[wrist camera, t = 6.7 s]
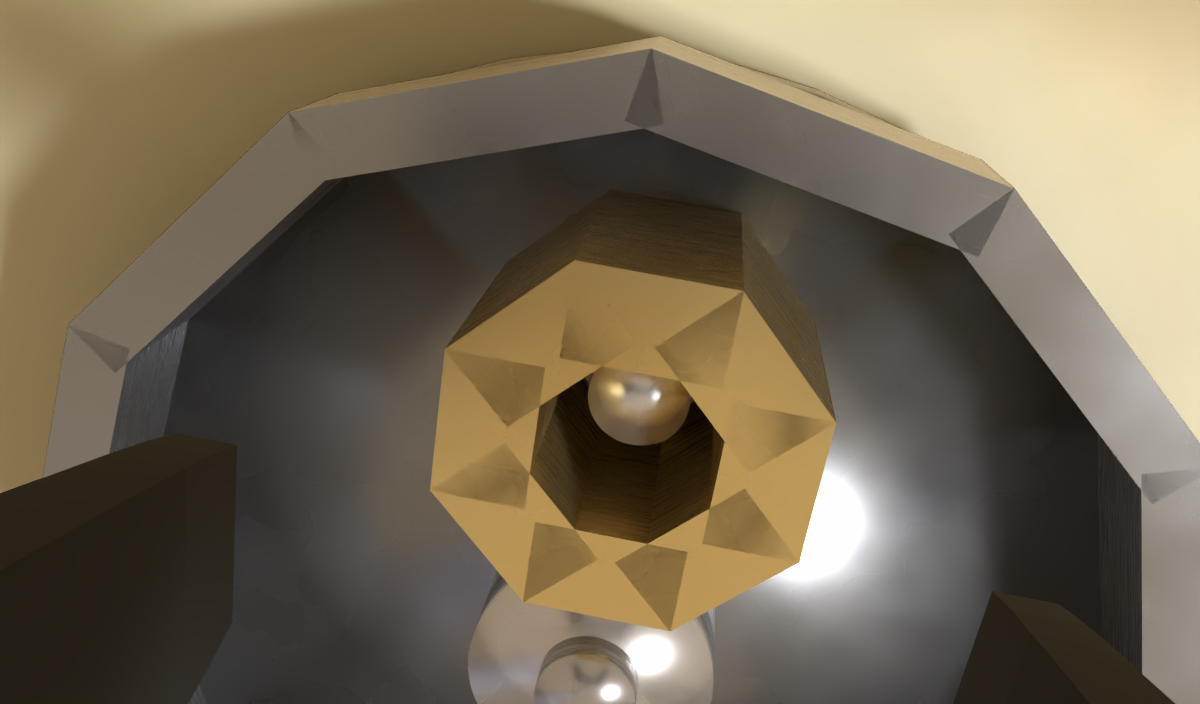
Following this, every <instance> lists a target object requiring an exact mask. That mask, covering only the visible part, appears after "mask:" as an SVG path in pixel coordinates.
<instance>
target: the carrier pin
mask: <svg viewBox="0 0 1200 704" xmlns="http://www.w3.org/2000/svg"><path fill="white" fill-rule="evenodd" d="M690 397H691V395H690V394H689V393H688V391H687V390H686V388H685V387H684V386H683V384H682V383H681V382H680V381H678V380H673V379H668V378H662V377H657V376H652V375H646V374H641V373H636V372H630V371H625V370H620V369H614V368H609V367H604V366H602V367H600V368H598V369H597V370H595V371H594V373H593V376H592V379H591V382H590V385H589V390H588V403H589V408H590V412H591V414H592V416H593V418H594V420H595V422H596V423H597V424H598V426H599V427H600V428H601V429H602V430H603V431H604V432H605V433H607V434H608V435H609V436H611V437H612V438H614V439H616V440H618V441H620V442H623V443H626V444H631V445H651V444H655V443H658V442H661V441H663V440H665V439H667V438H669V437H670V436H672V435H673V434H674V433H676V431H677V430H678V429H679V428H680V427H681V426H682V424H683V423H684V421H685V419H686V417H687V414H688V411H689V406H690Z"/></svg>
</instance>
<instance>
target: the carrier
mask: <svg viewBox="0 0 1200 704" xmlns="http://www.w3.org/2000/svg"><path fill="white" fill-rule="evenodd" d="M610 189H612V190H618V191H623V192H629V193H635V194H640V195H646V196H651V197H657V198H663V199H668V200H674V201H679V202H685V203H691V204H696V205H702V206H707V207H713V208H718V209H724V210H730V211H735V212H741V213H742V215H743V216H744V218H745V219H746V221H747V222H748V223H749V225H750V226H751V228H752V229H753V231H754V232H755V234H756V235H757V236H758V238H759V239H760V241H761V242H762V244H763V245H764V247H765V248H766V250H767V251H768V252H769V254H770V255H771V257H772V258H773V260H774V261H775V263H776V264H777V265H778V267H779V268H780V270H781V271H782V273H783V274H784V276H785V277H786V279H787V280H788V281H789V283H790V284H791V286H792V287H793V289H794V290H795V292H796V293H797V294H798V296H799V297H800V299H801V300H802V302H803V303H804V305H805V306H806V308H807V309H808V310H809V312H810V313H811V315H812V316H813V317H814V322H815V326H816V331H817V335H818V340H819V345H820V349H821V354H822V358H823V363H824V368H825V372H826V377H827V381H828V386H829V391H830V395H831V400H832V404H833V409H834V413H835V418H836V426H835V430H834V434H833V437H832V441H831V445H830V449H829V453H828V456H827V460H826V464H825V468H824V472H823V475H822V479H821V483H820V487H819V490H818V494H817V498H816V502H815V506H814V509H813V513H812V517H811V521H810V525H809V528H808V532H807V536H806V540H805V543H804V547H803V551H802V555H801V559H800V562H799V563H798V564H796V565H794V566H792V567H790V568H788V569H786V570H784V571H783V572H781V573H779V574H777V575H775V576H773V577H771V578H769V579H768V580H766V581H764V582H762V583H760V584H758V585H756V586H754V587H753V588H751V589H749V590H747V591H745V592H743V593H741V594H739V595H738V596H736V597H734V598H732V599H730V600H728V601H726V602H724V603H723V604H721V605H719V606H717V607H715V608H713V609H711V610H709V611H708V612H706V613H704V614H702V615H700V616H698V617H696V618H694V619H693V620H691V621H689V622H687V623H685V624H683V625H681V626H679V627H677V628H676V629H674V630H672V631H671V632H670V631H665V630H660V629H655V628H650V627H645V626H640V625H635V624H630V623H625V622H620V621H615V620H610V619H605V618H600V617H595V616H590V615H585V614H580V613H575V612H570V611H565V610H560V609H555V608H550V607H545V606H540V605H535V604H530V603H525V602H523V601H522V600H521V599H520V597H519V596H518V595H517V594H516V593H515V591H514V590H513V589H512V588H511V587H510V585H509V584H508V583H507V582H506V581H505V579H504V578H503V577H502V576H501V575H500V573H499V572H498V571H497V570H496V569H495V567H494V566H493V565H492V564H491V563H490V561H489V560H488V559H487V558H486V557H485V555H484V554H483V553H482V552H481V551H480V550H479V548H478V547H477V546H476V545H475V544H474V542H473V541H472V540H471V539H470V538H469V536H468V535H467V534H466V533H465V532H464V530H463V529H462V528H461V527H460V526H459V524H458V523H457V522H456V521H455V520H454V518H453V517H452V516H451V515H450V514H449V512H448V511H447V510H446V509H445V508H444V506H443V505H442V504H441V503H440V502H439V500H438V499H437V498H436V497H435V496H434V494H433V493H432V492H431V491H430V485H431V476H432V466H433V457H434V447H435V438H436V428H437V419H438V409H439V400H440V390H441V381H442V371H443V362H444V352H445V348H446V346H447V345H448V344H449V342H450V341H451V339H452V338H453V337H454V335H455V334H456V332H457V331H458V330H459V328H460V327H461V325H462V324H463V322H464V321H465V320H466V318H467V317H468V315H469V314H470V313H471V311H472V310H473V308H474V307H475V306H476V304H477V303H478V301H479V300H480V299H481V297H482V296H483V294H484V293H485V292H486V290H487V289H488V287H489V286H490V284H491V283H492V282H493V280H494V279H495V277H496V276H497V275H498V273H499V272H500V270H501V269H502V268H503V266H504V265H505V263H506V262H507V261H508V260H510V259H511V258H513V257H514V256H516V255H517V254H518V253H520V252H521V251H523V250H524V249H526V248H527V247H528V246H530V245H531V244H533V243H534V242H536V241H537V240H538V239H540V238H541V237H543V236H544V235H546V234H547V233H548V232H550V231H551V230H553V229H554V228H556V227H557V226H558V225H560V224H561V223H563V222H564V221H566V220H567V219H568V218H570V217H571V216H573V215H574V214H575V213H577V212H578V211H580V210H581V209H583V208H584V207H585V206H587V205H588V204H590V203H591V202H593V201H594V200H595V199H597V198H598V197H600V196H601V195H603V194H604V193H605V192H607V191H608V190H610ZM593 373H594V372H592V373H591V374H589V375H588V376H586V377H584V378H585V379H586V381H587V382H588V383H589V384H590V382H591V379H592V376H593ZM692 402H694V399H693V398H692V397H690V404H691V403H692ZM174 433H178V434H183V435H189V436H194V437H199V438H204V439H209V440H214V441H220V442H225V443H230V444H235V445H237V467H236V503H235V539H234V575H233V610H232V623H231V625H230V627H229V629H228V631H227V633H226V635H225V637H224V639H223V641H222V643H221V644H220V646H219V648H218V650H217V652H216V654H215V656H214V658H213V660H212V662H211V664H210V665H209V667H208V669H207V671H206V673H205V675H204V676H203V678H202V680H201V682H200V684H199V685H198V687H197V689H196V691H195V692H194V694H193V696H192V698H191V699H190V701H189V703H188V704H953V702H954V699H955V697H956V694H957V691H958V688H959V685H960V682H961V679H962V676H963V674H964V671H965V668H966V665H967V662H968V659H969V656H970V653H971V650H972V648H973V645H974V642H975V639H976V636H977V633H978V630H979V627H980V625H981V622H982V619H983V616H984V613H985V610H986V607H987V604H988V601H989V599H990V596H991V593H992V591H995V592H1000V593H1005V594H1010V595H1015V596H1020V597H1026V598H1031V599H1036V600H1041V601H1046V602H1051V603H1057V604H1060V605H1061V606H1062V607H1064V608H1065V609H1066V610H1068V611H1069V612H1071V613H1072V614H1073V615H1075V616H1076V617H1077V618H1078V619H1080V620H1081V621H1082V622H1083V623H1085V624H1086V625H1087V626H1088V627H1089V628H1091V629H1092V630H1093V631H1094V632H1095V633H1096V634H1098V635H1099V636H1100V637H1101V638H1102V639H1103V640H1105V641H1106V642H1107V643H1108V644H1109V645H1110V646H1111V647H1113V648H1114V649H1115V650H1116V651H1117V652H1118V653H1119V654H1121V655H1122V656H1123V657H1124V658H1125V659H1126V660H1127V661H1128V662H1130V663H1131V664H1132V665H1133V666H1134V667H1135V668H1136V669H1137V670H1138V671H1140V672H1141V673H1142V674H1143V675H1144V676H1145V677H1146V678H1147V679H1148V680H1150V681H1151V682H1152V683H1153V684H1154V685H1155V686H1156V687H1157V688H1158V689H1160V690H1161V691H1162V692H1163V693H1164V694H1165V695H1166V696H1167V697H1168V698H1170V699H1171V700H1172V701H1173V702H1174V703H1175V704H1200V443H1199V441H1198V440H1197V438H1196V437H1195V436H1194V434H1193V433H1192V432H1191V430H1190V429H1189V427H1188V426H1187V425H1186V423H1185V422H1184V421H1183V419H1182V418H1181V416H1180V415H1179V414H1178V412H1177V411H1176V410H1175V408H1174V407H1173V405H1172V404H1171V403H1170V401H1169V400H1168V399H1167V397H1166V396H1165V394H1164V393H1163V392H1162V390H1161V389H1160V388H1159V386H1158V385H1157V383H1156V382H1155V381H1154V379H1153V378H1152V377H1151V375H1150V374H1149V372H1148V371H1147V370H1146V368H1145V367H1144V366H1143V364H1142V363H1141V361H1140V360H1139V359H1138V357H1137V356H1136V355H1135V353H1134V352H1133V350H1132V349H1131V348H1130V346H1129V345H1128V344H1127V342H1126V341H1125V339H1124V338H1123V337H1122V335H1121V334H1120V333H1119V331H1118V330H1117V328H1116V327H1115V326H1114V324H1113V323H1112V322H1111V320H1110V319H1109V317H1108V316H1107V315H1106V313H1105V312H1104V311H1103V309H1102V308H1101V306H1100V305H1099V304H1098V302H1097V301H1096V300H1095V298H1094V297H1093V295H1092V294H1091V293H1090V291H1089V290H1088V289H1087V287H1086V286H1085V284H1084V283H1083V282H1082V280H1081V279H1080V278H1079V276H1078V275H1077V273H1076V272H1075V271H1074V269H1073V268H1072V267H1071V265H1070V264H1069V262H1068V261H1067V260H1066V258H1065V257H1064V256H1063V254H1062V253H1061V251H1060V250H1059V249H1058V247H1057V246H1056V245H1055V243H1054V242H1053V240H1052V239H1051V238H1050V236H1049V235H1048V234H1047V232H1046V231H1045V229H1044V228H1043V227H1042V225H1041V224H1040V223H1039V221H1038V220H1037V218H1036V217H1035V216H1034V214H1033V213H1032V212H1031V210H1030V209H1029V207H1028V206H1027V205H1026V203H1025V202H1024V201H1023V199H1022V198H1021V196H1020V195H1019V194H1018V192H1017V191H1016V190H1015V188H1014V187H1013V186H1011V185H1010V184H1009V183H1008V182H1007V181H1006V180H1005V179H1003V178H1002V177H1001V176H1000V175H999V174H998V173H996V172H995V171H994V170H993V169H992V168H991V167H989V166H988V165H987V164H986V163H985V162H984V161H983V160H981V159H978V158H976V157H973V156H970V155H968V154H965V153H963V152H960V151H957V150H955V149H952V148H950V147H947V146H944V145H942V144H939V143H937V142H934V141H932V140H929V139H926V138H924V137H921V136H919V135H916V134H913V133H911V132H908V131H906V130H903V129H901V128H898V127H895V126H893V125H891V124H889V123H888V122H886V121H884V120H882V119H879V118H877V117H875V116H873V115H871V114H869V113H867V112H864V111H862V110H860V109H858V108H856V107H854V106H852V105H849V104H847V103H845V102H843V101H841V100H839V99H837V98H835V97H832V96H830V95H828V94H826V93H824V92H822V91H820V90H817V89H815V88H811V87H808V86H805V85H802V84H798V83H795V82H792V81H789V80H786V79H782V78H779V77H776V76H773V75H769V74H766V73H763V72H760V71H757V70H753V69H750V68H747V67H744V66H740V65H735V64H732V63H730V62H727V61H725V60H722V59H719V58H717V57H714V56H712V55H709V54H706V53H704V52H701V51H699V50H696V49H694V48H691V47H688V46H686V45H683V44H681V43H678V42H675V41H673V40H670V39H668V38H665V37H662V36H658V37H652V38H647V39H641V40H636V41H630V42H624V43H619V44H613V45H607V46H602V47H596V48H591V49H585V50H579V51H574V52H565V53H555V54H546V55H537V56H528V57H518V58H509V59H505V60H501V61H497V62H493V63H489V64H485V65H481V66H477V67H473V68H469V69H465V70H461V71H457V72H453V73H449V74H445V75H439V76H433V77H428V78H422V79H416V80H411V81H405V82H400V83H394V84H388V85H383V86H377V87H371V88H366V89H360V90H355V91H349V92H343V93H337V94H335V95H332V96H329V97H327V98H324V99H321V100H319V101H316V102H313V103H311V104H308V105H305V106H303V107H300V108H297V109H295V110H292V111H290V112H288V113H287V114H286V115H285V116H284V117H283V118H282V119H281V120H280V121H279V122H278V123H277V124H275V125H274V126H273V127H272V128H271V129H270V130H269V131H268V132H267V133H266V134H265V135H264V136H263V137H262V138H261V139H260V140H259V141H258V142H257V143H256V144H255V145H254V146H253V147H252V148H251V149H250V150H249V151H248V152H247V153H245V154H244V155H243V156H242V157H241V158H240V159H239V160H238V161H237V162H236V163H235V164H234V165H233V166H232V167H231V168H230V169H229V170H228V171H227V172H226V173H225V174H224V175H223V176H222V177H221V178H220V179H219V180H218V181H216V182H215V183H214V184H213V185H212V186H211V187H210V188H209V189H208V190H207V191H206V192H205V193H204V194H203V195H202V196H201V197H200V198H199V199H198V200H197V201H196V202H195V203H194V204H193V205H192V206H191V207H190V208H189V209H188V210H186V211H185V212H184V213H183V214H182V215H181V216H180V217H179V218H178V219H177V220H176V221H175V222H174V223H173V224H172V225H171V226H170V227H169V228H168V229H167V230H166V231H165V232H164V233H163V234H162V235H161V236H160V237H159V238H158V239H156V240H155V241H154V242H153V243H152V244H151V245H150V246H149V247H148V248H147V249H146V250H145V251H144V252H143V253H142V254H141V255H140V256H139V257H138V258H137V259H136V260H135V261H134V262H133V263H132V264H131V265H130V266H129V267H127V268H126V269H125V270H124V271H123V272H122V273H121V274H120V275H119V276H118V277H117V278H116V279H115V280H114V281H113V282H112V283H111V284H110V285H109V286H108V287H107V288H106V289H105V290H104V291H103V292H102V293H101V294H100V295H98V296H97V297H96V298H95V299H94V300H93V301H92V302H91V303H90V304H89V305H88V306H87V307H86V308H85V309H84V310H83V311H82V312H81V313H80V314H79V315H78V316H77V317H76V318H75V319H74V320H73V321H72V322H71V323H70V324H68V329H67V334H66V340H65V346H64V352H63V358H62V364H61V370H60V376H59V382H58V388H57V394H56V400H55V406H54V412H53V418H52V424H51V430H50V436H49V442H48V448H47V454H46V460H45V466H44V472H43V478H44V477H47V476H50V475H52V474H55V473H58V472H60V471H63V470H66V469H69V468H71V467H74V466H77V465H79V464H82V463H85V462H88V461H90V460H93V459H96V458H99V457H101V456H104V455H107V454H110V453H113V452H115V451H118V450H121V449H124V448H127V447H130V446H133V445H136V444H139V443H142V442H145V441H148V440H152V439H155V438H159V437H163V436H167V435H171V434H174Z"/></svg>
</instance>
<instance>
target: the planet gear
mask: <svg viewBox="0 0 1200 704" xmlns="http://www.w3.org/2000/svg"><path fill="white" fill-rule="evenodd" d="M602 366H604V367H609V368H614V369H620V370H625V371H630V372H636V373H641V374H646V375H652V376H657V377H662V378H668V379H673V380H678V381H680V382H681V383H682V384H683V386H684V387H685V388H686V390H687V391H688V393H689V394H690V395H691V397H692V398H693V399H694V402H692V403H691V404H690V406H689V411H688V414H687V417H686V419H685V421H684V423H683V424H682V426H681V427H680V428H679V429H678V430H677V431H676V433H674V434H673V435H672V436H670V437H669V438H667V439H665V440H663V441H661V442H658V443H655V444H651V445H631V444H626V443H623V442H620V441H618V440H616V439H614V438H612V437H611V436H609V435H608V434H607V433H605V432H604V431H603V430H602V429H601V428H600V427H599V426H598V424H597V423H596V422H595V420H594V418H593V416H592V414H591V412H590V408H589V403H588V390H589V385H590V384H589V383H588V382H587V381H586V379H585V378H584V377H586V376H588V375H589V374H591V373H592V372H594V371H595V370H597V369H598V368H600V367H602ZM835 426H836V418H835V413H834V409H833V404H832V400H831V395H830V391H829V386H828V381H827V377H826V372H825V368H824V363H823V358H822V354H821V349H820V345H819V340H818V335H817V331H816V326H815V322H814V317H813V316H812V315H811V313H810V312H809V310H808V309H807V308H806V306H805V305H804V303H803V302H802V300H801V299H800V297H799V296H798V294H797V293H796V292H795V290H794V289H793V287H792V286H791V284H790V283H789V281H788V280H787V279H786V277H785V276H784V274H783V273H782V271H781V270H780V268H779V267H778V265H777V264H776V263H775V261H774V260H773V258H772V257H771V255H770V254H769V252H768V251H767V250H766V248H765V247H764V245H763V244H762V242H761V241H760V239H759V238H758V236H757V235H756V234H755V232H754V231H753V229H752V228H751V226H750V225H749V223H748V222H747V221H746V219H745V218H744V216H743V215H742V213H741V212H735V211H730V210H724V209H718V208H713V207H707V206H702V205H696V204H691V203H685V202H679V201H674V200H668V199H663V198H657V197H651V196H646V195H640V194H635V193H629V192H623V191H618V190H612V189H610V190H608V191H607V192H605V193H604V194H603V195H601V196H600V197H598V198H597V199H595V200H594V201H593V202H591V203H590V204H588V205H587V206H585V207H584V208H583V209H581V210H580V211H578V212H577V213H575V214H574V215H573V216H571V217H570V218H568V219H567V220H566V221H564V222H563V223H561V224H560V225H558V226H557V227H556V228H554V229H553V230H551V231H550V232H548V233H547V234H546V235H544V236H543V237H541V238H540V239H538V240H537V241H536V242H534V243H533V244H531V245H530V246H528V247H527V248H526V249H524V250H523V251H521V252H520V253H518V254H517V255H516V256H514V257H513V258H511V259H510V260H508V261H507V262H506V263H505V265H504V266H503V268H502V269H501V270H500V272H499V273H498V275H497V276H496V277H495V279H494V280H493V282H492V283H491V284H490V286H489V287H488V289H487V290H486V292H485V293H484V294H483V296H482V297H481V299H480V300H479V301H478V303H477V304H476V306H475V307H474V308H473V310H472V311H471V313H470V314H469V315H468V317H467V318H466V320H465V321H464V322H463V324H462V325H461V327H460V328H459V330H458V331H457V332H456V334H455V335H454V337H453V338H452V339H451V341H450V342H449V344H448V345H447V346H446V348H445V352H444V362H443V371H442V381H441V390H440V400H439V409H438V419H437V428H436V438H435V447H434V457H433V466H432V476H431V485H430V491H431V492H432V493H433V494H434V496H435V497H436V498H437V499H438V500H439V502H440V503H441V504H442V505H443V506H444V508H445V509H446V510H447V511H448V512H449V514H450V515H451V516H452V517H453V518H454V520H455V521H456V522H457V523H458V524H459V526H460V527H461V528H462V529H463V530H464V532H465V533H466V534H467V535H468V536H469V538H470V539H471V540H472V541H473V542H474V544H475V545H476V546H477V547H478V548H479V550H480V551H481V552H482V553H483V554H484V555H485V557H486V558H487V559H488V560H489V561H490V563H491V564H492V565H493V566H494V567H495V569H496V570H497V571H498V572H499V573H500V575H501V576H502V577H503V578H504V579H505V581H506V582H507V583H508V584H509V585H510V587H511V588H512V589H513V590H514V591H515V593H516V594H517V595H518V596H519V597H520V599H521V600H522V601H523V602H525V603H530V604H535V605H540V606H545V607H550V608H555V609H560V610H565V611H570V612H575V613H580V614H585V615H590V616H595V617H600V618H605V619H610V620H615V621H620V622H625V623H630V624H635V625H640V626H645V627H650V628H655V629H660V630H665V631H670V632H671V631H672V630H674V629H676V628H677V627H679V626H681V625H683V624H685V623H687V622H689V621H691V620H693V619H694V618H696V617H698V616H700V615H702V614H704V613H706V612H708V611H709V610H711V609H713V608H715V607H717V606H719V605H721V604H723V603H724V602H726V601H728V600H730V599H732V598H734V597H736V596H738V595H739V594H741V593H743V592H745V591H747V590H749V589H751V588H753V587H754V586H756V585H758V584H760V583H762V582H764V581H766V580H768V579H769V578H771V577H773V576H775V575H777V574H779V573H781V572H783V571H784V570H786V569H788V568H790V567H792V566H794V565H796V564H798V563H799V562H800V559H801V555H802V551H803V547H804V543H805V540H806V536H807V532H808V528H809V525H810V521H811V517H812V513H813V509H814V506H815V502H816V498H817V494H818V490H819V487H820V483H821V479H822V475H823V472H824V468H825V464H826V460H827V456H828V453H829V449H830V445H831V441H832V437H833V434H834V430H835Z"/></svg>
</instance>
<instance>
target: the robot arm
mask: <svg viewBox="0 0 1200 704" xmlns="http://www.w3.org/2000/svg"><path fill="white" fill-rule="evenodd" d="M236 467H237V445H235V444H230V443H225V442H220V441H214V440H209V439H204V438H199V437H194V436H189V435H183V434H178V433H174V434H171V435H167V436H163V437H159V438H155V439H152V440H148V441H145V442H142V443H139V444H136V445H133V446H130V447H127V448H124V449H121V450H118V451H115V452H113V453H110V454H107V455H104V456H101V457H99V458H96V459H93V460H90V461H88V462H85V463H82V464H79V465H77V466H74V467H71V468H69V469H66V470H63V471H60V472H58V473H55V474H52V475H50V476H47V477H44V478H41V479H39V480H36V481H33V482H30V483H28V484H25V485H22V486H19V487H17V488H14V489H11V490H8V491H6V492H3V493H0V704H188V703H189V701H190V699H191V698H192V696H193V694H194V692H195V691H196V689H197V687H198V685H199V684H200V682H201V680H202V678H203V676H204V675H205V673H206V671H207V669H208V667H209V665H210V664H211V662H212V660H213V658H214V656H215V654H216V652H217V650H218V648H219V646H220V644H221V643H222V641H223V639H224V637H225V635H226V633H227V631H228V629H229V627H230V625H231V623H232V610H233V575H234V539H235V503H236ZM953 704H1175V703H1174V702H1173V701H1172V700H1171V699H1170V698H1168V697H1167V696H1166V695H1165V694H1164V693H1163V692H1162V691H1161V690H1160V689H1158V688H1157V687H1156V686H1155V685H1154V684H1153V683H1152V682H1151V681H1150V680H1148V679H1147V678H1146V677H1145V676H1144V675H1143V674H1142V673H1141V672H1140V671H1138V670H1137V669H1136V668H1135V667H1134V666H1133V665H1132V664H1131V663H1130V662H1128V661H1127V660H1126V659H1125V658H1124V657H1123V656H1122V655H1121V654H1119V653H1118V652H1117V651H1116V650H1115V649H1114V648H1113V647H1111V646H1110V645H1109V644H1108V643H1107V642H1106V641H1105V640H1103V639H1102V638H1101V637H1100V636H1099V635H1098V634H1096V633H1095V632H1094V631H1093V630H1092V629H1091V628H1089V627H1088V626H1087V625H1086V624H1085V623H1083V622H1082V621H1081V620H1080V619H1078V618H1077V617H1076V616H1075V615H1073V614H1072V613H1071V612H1069V611H1068V610H1066V609H1065V608H1064V607H1062V606H1061V605H1060V604H1057V603H1051V602H1046V601H1041V600H1036V599H1031V598H1026V597H1020V596H1015V595H1010V594H1005V593H1000V592H995V591H992V593H991V596H990V599H989V601H988V604H987V607H986V610H985V613H984V616H983V619H982V622H981V625H980V627H979V630H978V633H977V636H976V639H975V642H974V645H973V648H972V650H971V653H970V656H969V659H968V662H967V665H966V668H965V671H964V674H963V676H962V679H961V682H960V685H959V688H958V691H957V694H956V697H955V699H954V702H953Z"/></svg>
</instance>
